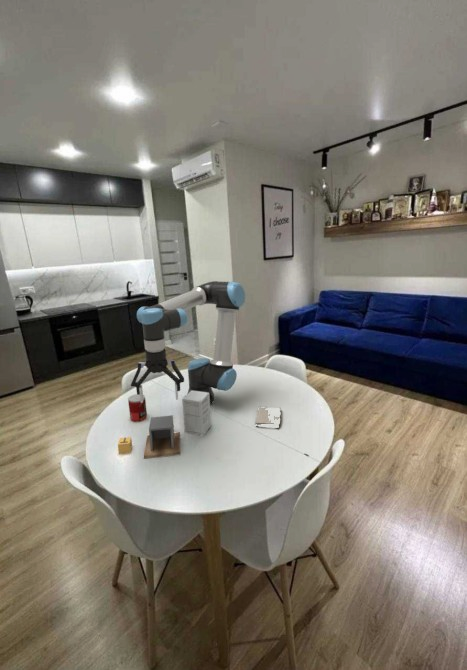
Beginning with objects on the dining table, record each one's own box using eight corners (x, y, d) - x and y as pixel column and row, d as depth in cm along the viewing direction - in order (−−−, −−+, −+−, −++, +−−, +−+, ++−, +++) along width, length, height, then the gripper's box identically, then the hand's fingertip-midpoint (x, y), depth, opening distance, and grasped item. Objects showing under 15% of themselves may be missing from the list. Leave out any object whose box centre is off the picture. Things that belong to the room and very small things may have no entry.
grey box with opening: (174, 436, 131) (172, 415, 128) (173, 448, 122) (172, 426, 119) (152, 438, 129) (150, 417, 126) (150, 451, 121) (148, 429, 118)
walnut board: (180, 434, 134) (180, 432, 133) (180, 454, 120) (179, 451, 120) (147, 437, 131) (147, 435, 131) (143, 458, 118) (143, 456, 118)
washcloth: (254, 428, 138) (254, 422, 138) (257, 409, 156) (258, 404, 155) (280, 431, 137) (281, 424, 136) (281, 411, 154) (281, 405, 153)
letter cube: (132, 446, 126) (131, 436, 125) (130, 452, 122) (129, 443, 121) (120, 447, 125) (119, 437, 124) (118, 454, 121) (117, 444, 120)
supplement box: (211, 425, 140) (210, 392, 136) (203, 436, 132) (201, 401, 128) (192, 422, 144) (191, 389, 139) (183, 432, 135) (181, 398, 131)
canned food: (142, 423, 143) (140, 401, 140) (127, 421, 145) (124, 400, 142) (149, 414, 150) (148, 394, 148) (135, 413, 152) (133, 393, 149)
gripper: (188, 344, 120) (190, 392, 126) (122, 348, 116) (128, 398, 122) (188, 350, 113) (191, 401, 119) (119, 354, 109) (125, 407, 115)
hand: (159, 399), depth 121 cm, fingers open, 13 cm apart
